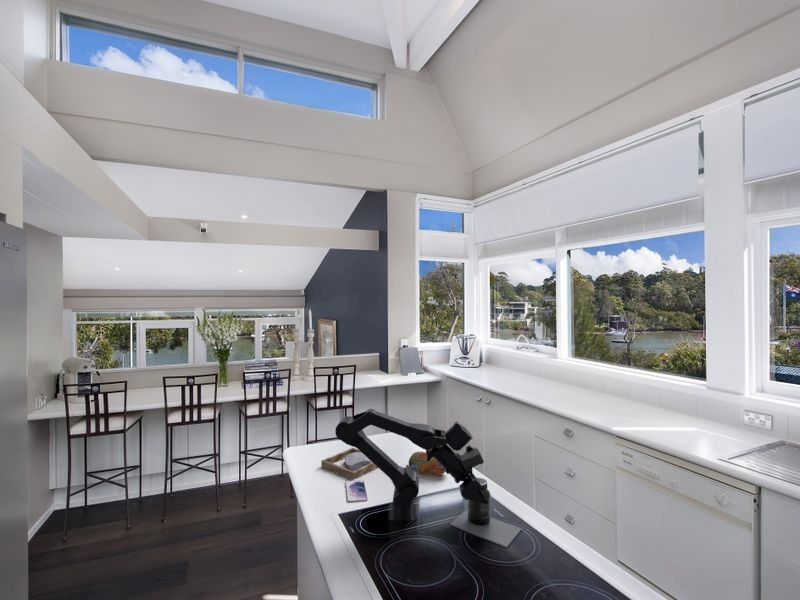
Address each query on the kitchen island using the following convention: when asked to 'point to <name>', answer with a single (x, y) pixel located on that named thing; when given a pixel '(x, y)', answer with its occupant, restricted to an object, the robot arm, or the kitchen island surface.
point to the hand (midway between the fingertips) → (484, 495)
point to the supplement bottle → (480, 507)
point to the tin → (425, 465)
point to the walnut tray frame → (343, 471)
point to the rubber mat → (488, 530)
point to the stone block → (356, 461)
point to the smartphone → (355, 491)
